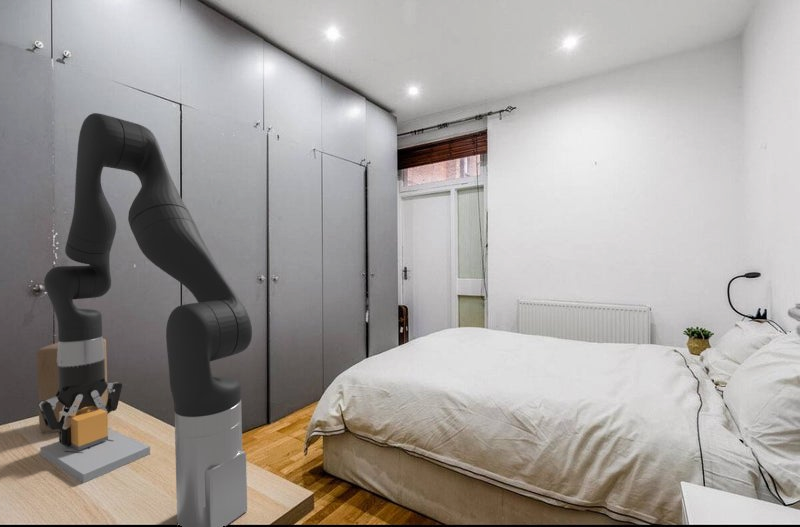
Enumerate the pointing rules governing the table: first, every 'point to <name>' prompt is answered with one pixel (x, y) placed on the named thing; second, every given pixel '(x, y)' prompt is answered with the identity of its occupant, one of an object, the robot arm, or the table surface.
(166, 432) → the table surface
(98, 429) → the block
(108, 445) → the board
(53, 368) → the block
